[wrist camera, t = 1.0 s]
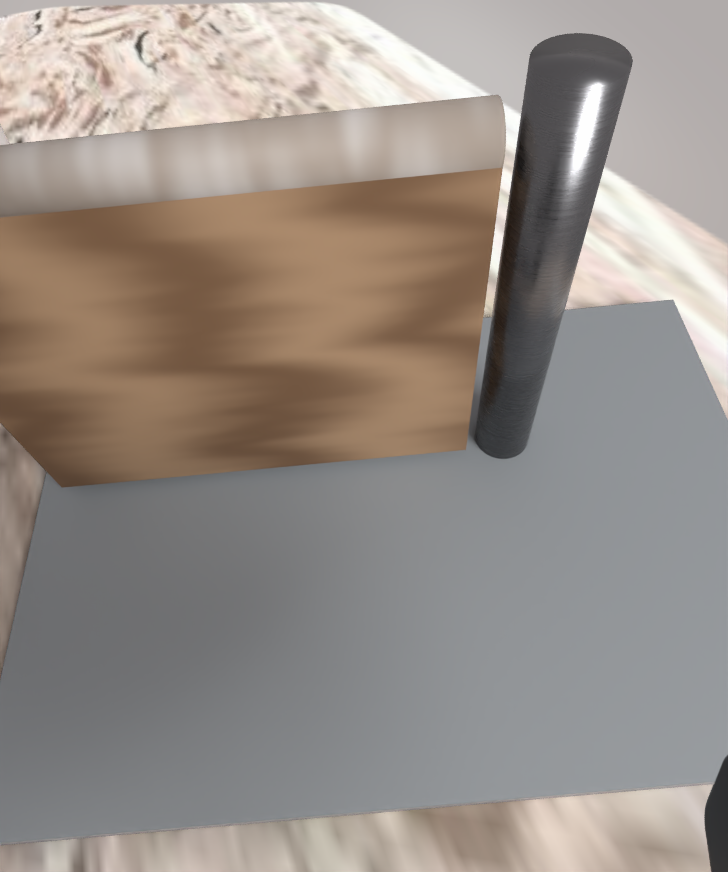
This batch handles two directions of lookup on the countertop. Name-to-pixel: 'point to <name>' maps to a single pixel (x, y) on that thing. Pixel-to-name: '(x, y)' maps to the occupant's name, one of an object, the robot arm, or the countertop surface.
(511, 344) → the hinge post
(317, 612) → the board
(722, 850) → the robot arm
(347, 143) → the panel
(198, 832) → the countertop surface
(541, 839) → the countertop surface
